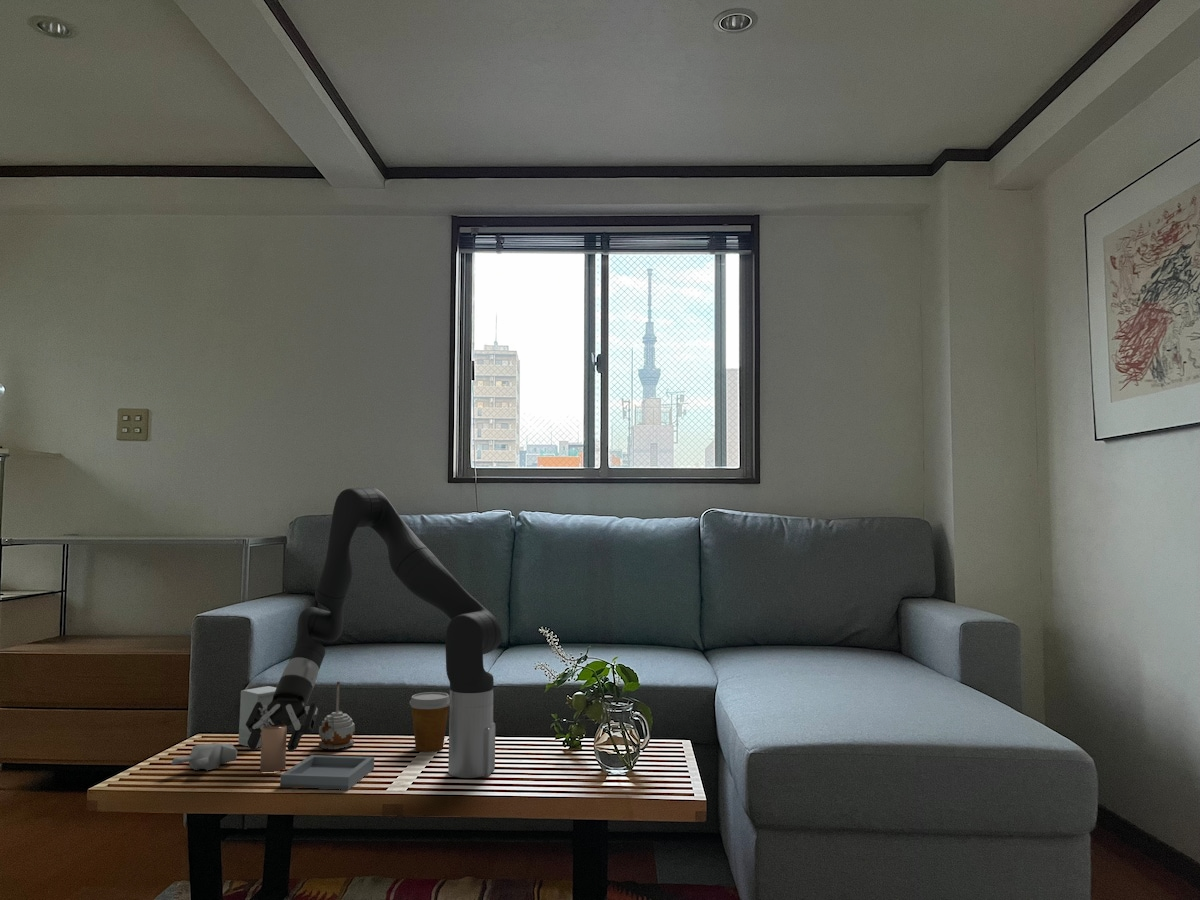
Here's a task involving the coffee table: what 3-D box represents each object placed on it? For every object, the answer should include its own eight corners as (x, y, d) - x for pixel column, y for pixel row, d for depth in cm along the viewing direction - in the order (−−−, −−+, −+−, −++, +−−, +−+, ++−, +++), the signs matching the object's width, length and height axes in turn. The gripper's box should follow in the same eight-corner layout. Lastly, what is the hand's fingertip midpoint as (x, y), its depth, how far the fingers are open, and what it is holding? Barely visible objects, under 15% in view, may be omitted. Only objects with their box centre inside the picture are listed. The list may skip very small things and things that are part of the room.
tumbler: (289, 767, 179) (291, 724, 180) (278, 774, 174) (280, 730, 175) (267, 766, 180) (268, 723, 181) (255, 773, 175) (257, 729, 176)
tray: (373, 769, 178) (374, 757, 178) (348, 790, 164) (348, 777, 165) (310, 767, 180) (311, 755, 180) (280, 787, 166) (280, 774, 166)
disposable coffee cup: (453, 751, 192) (454, 698, 193) (412, 755, 188) (413, 701, 189) (445, 741, 201) (446, 690, 202) (405, 745, 197) (406, 693, 198)
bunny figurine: (248, 740, 186) (210, 750, 172) (245, 764, 185) (207, 776, 171) (208, 739, 187) (167, 749, 173) (205, 763, 186) (164, 775, 172)
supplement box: (254, 749, 193) (256, 693, 194) (237, 744, 198) (239, 689, 199) (283, 742, 199) (285, 688, 200) (266, 737, 203) (268, 684, 204)
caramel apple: (317, 744, 198) (319, 679, 199) (351, 741, 201) (352, 677, 202) (320, 752, 191) (322, 685, 192) (355, 749, 194) (357, 683, 195)
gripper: (261, 672, 187) (232, 738, 175) (322, 674, 186) (297, 740, 173) (272, 691, 192) (244, 757, 179) (331, 693, 190) (308, 759, 178)
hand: (270, 749), depth 176 cm, fingers open, 8 cm apart
